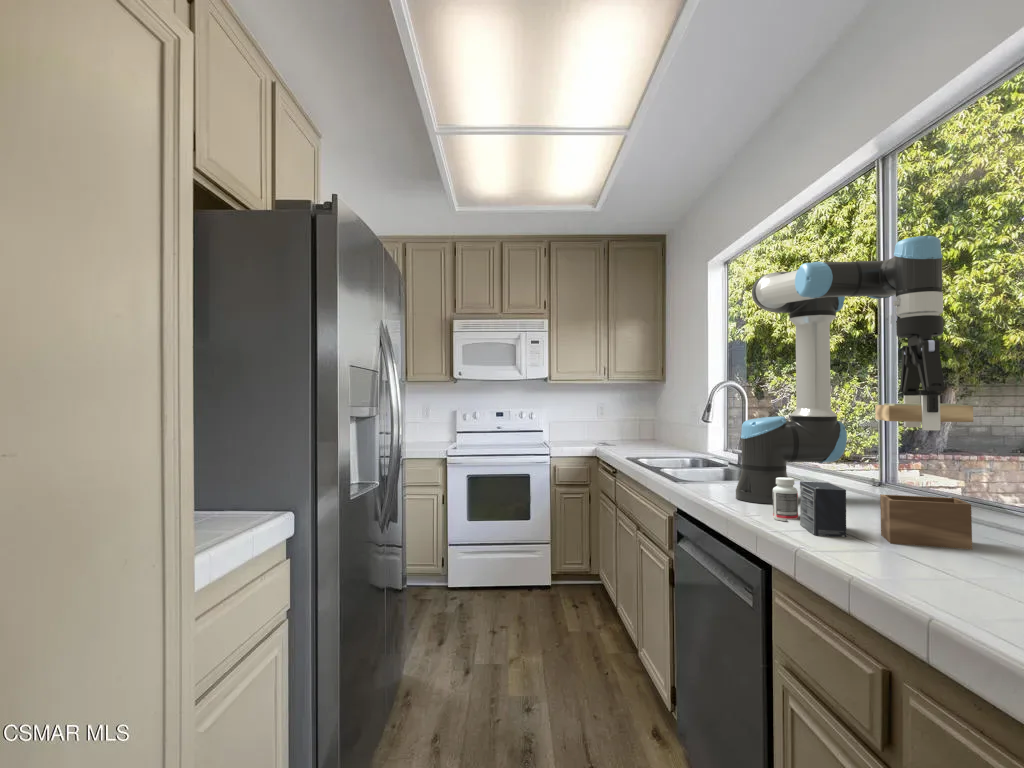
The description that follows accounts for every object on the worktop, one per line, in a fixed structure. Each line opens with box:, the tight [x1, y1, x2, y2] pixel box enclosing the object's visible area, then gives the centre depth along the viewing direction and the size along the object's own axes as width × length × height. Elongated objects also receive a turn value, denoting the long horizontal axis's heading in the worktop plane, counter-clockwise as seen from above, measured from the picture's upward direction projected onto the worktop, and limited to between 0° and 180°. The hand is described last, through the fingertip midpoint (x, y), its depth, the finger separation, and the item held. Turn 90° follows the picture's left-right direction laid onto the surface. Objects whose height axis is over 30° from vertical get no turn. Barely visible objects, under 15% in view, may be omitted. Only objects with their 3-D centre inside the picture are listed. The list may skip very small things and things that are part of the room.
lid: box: [874, 402, 974, 423], centre depth 111 cm, size 10×13×3 cm
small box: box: [799, 480, 847, 538], centre depth 121 cm, size 11×6×10 cm, turn 168°
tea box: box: [879, 494, 973, 550], centre depth 111 cm, size 7×13×9 cm, turn 69°
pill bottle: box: [772, 477, 799, 522], centre depth 135 cm, size 5×5×10 cm
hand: (921, 428), depth 111 cm, fingers closed on lid, 10 cm apart
